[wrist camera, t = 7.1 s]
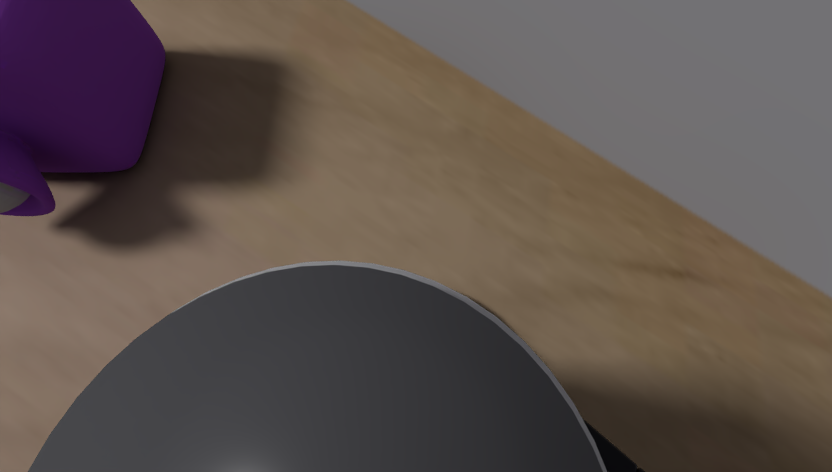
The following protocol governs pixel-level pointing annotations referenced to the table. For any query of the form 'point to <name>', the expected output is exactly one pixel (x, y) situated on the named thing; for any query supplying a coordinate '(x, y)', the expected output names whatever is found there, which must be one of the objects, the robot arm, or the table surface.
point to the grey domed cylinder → (324, 385)
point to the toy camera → (72, 93)
